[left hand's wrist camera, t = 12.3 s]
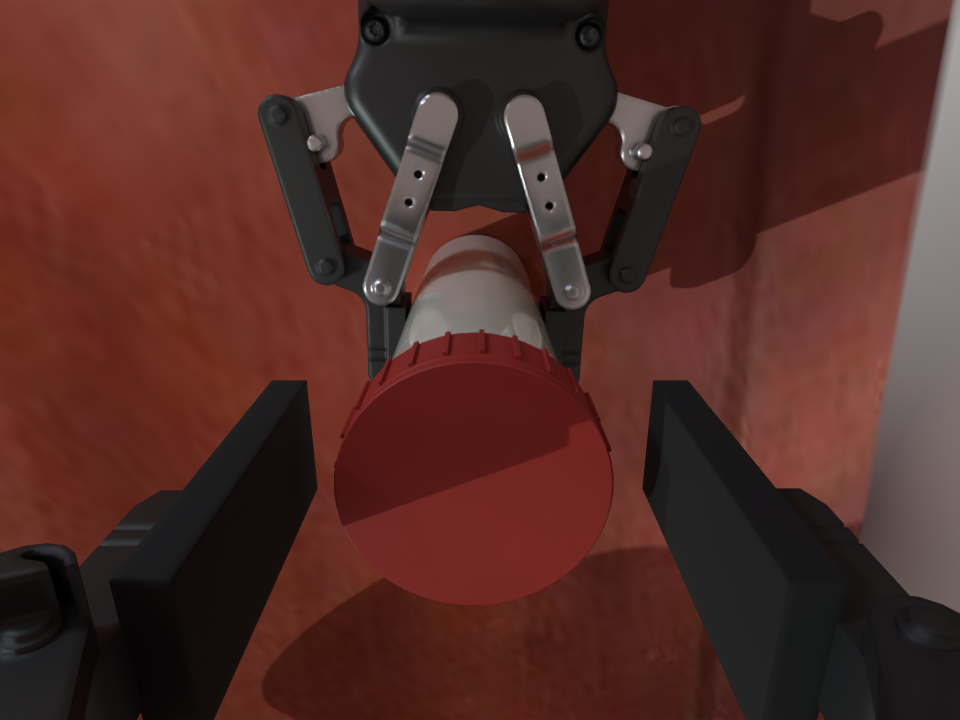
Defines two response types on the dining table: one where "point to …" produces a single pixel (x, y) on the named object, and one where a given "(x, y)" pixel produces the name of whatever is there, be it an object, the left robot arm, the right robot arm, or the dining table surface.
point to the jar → (475, 296)
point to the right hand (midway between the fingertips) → (474, 395)
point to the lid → (473, 470)
